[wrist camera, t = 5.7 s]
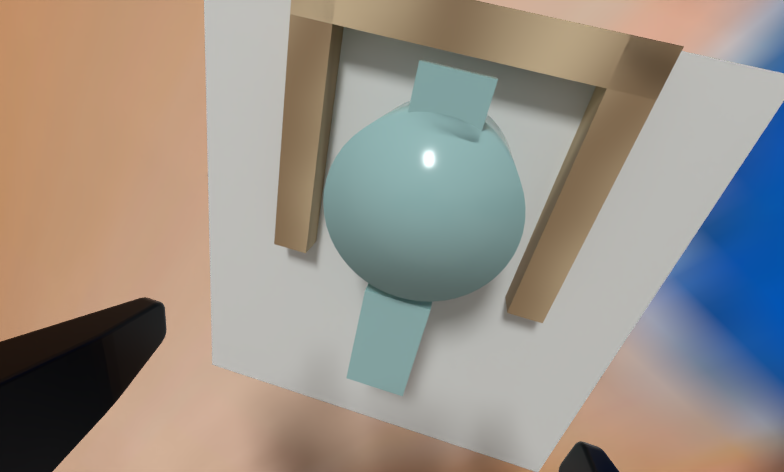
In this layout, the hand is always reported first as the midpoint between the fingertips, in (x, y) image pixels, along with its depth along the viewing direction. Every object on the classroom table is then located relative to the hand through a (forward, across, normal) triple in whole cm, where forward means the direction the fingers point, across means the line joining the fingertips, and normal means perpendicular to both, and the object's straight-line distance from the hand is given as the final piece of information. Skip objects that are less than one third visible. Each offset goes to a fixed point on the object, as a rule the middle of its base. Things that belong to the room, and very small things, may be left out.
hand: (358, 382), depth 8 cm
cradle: (+9, 0, -3) cm, 10 cm away
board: (+10, 0, +3) cm, 10 cm away
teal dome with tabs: (+9, 0, 0) cm, 9 cm away
